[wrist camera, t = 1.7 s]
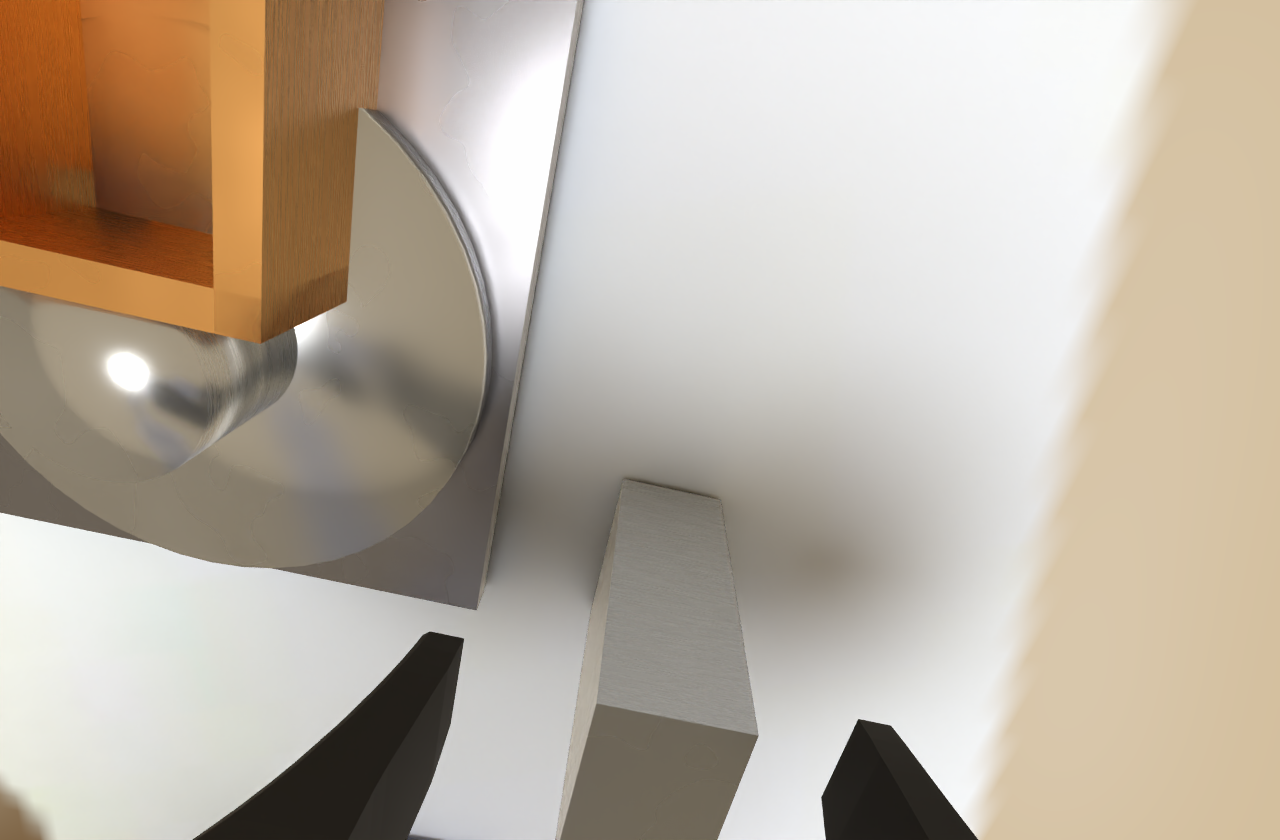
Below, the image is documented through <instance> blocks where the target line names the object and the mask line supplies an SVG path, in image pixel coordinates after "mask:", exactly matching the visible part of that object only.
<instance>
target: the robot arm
mask: <svg viewBox="0 0 1280 840" xmlns="http://www.w3.org/2000/svg"><path fill="white" fill-rule="evenodd" d="M463 642H464V638H459V637H454V636H449V635H444V634H439V633H435V632H428V633H426V634H424V635H423V636H422V637H421V638H420V639H419V640H418V642H417V643H416V644H415V645H414V647H413V648H412V649H411V650H410V651H409V652H408V654H407V655H406V656H405V657H404V658H403V659H402V660H401V661H400V663H399V664H398V665H397V666H396V667H395V668H394V669H393V670H392V671H391V672H390V673H389V674H388V675H387V677H386V678H385V679H384V680H383V681H382V682H381V683H380V684H379V685H378V686H377V687H376V688H375V689H374V690H373V691H372V692H371V693H370V694H369V695H368V696H367V697H366V698H365V699H364V700H363V701H362V702H361V703H360V704H359V705H358V706H357V707H356V708H355V709H354V710H353V711H352V712H351V713H350V714H349V715H347V716H346V717H345V718H344V719H343V720H342V721H341V722H340V723H339V724H338V725H337V726H336V727H335V728H333V729H332V730H331V731H330V732H329V733H328V734H327V735H326V736H324V737H323V738H322V739H321V740H320V741H319V742H318V743H317V744H315V745H314V746H313V747H312V748H311V749H310V750H309V751H307V752H306V753H305V754H304V755H303V756H302V757H301V758H300V759H298V760H297V761H296V762H295V763H294V764H292V765H291V766H290V767H289V768H288V769H286V770H285V771H284V772H283V773H281V774H280V775H279V776H278V777H277V778H275V779H274V780H273V781H272V782H270V783H269V784H268V785H267V786H265V787H264V788H263V789H261V790H260V791H259V792H257V793H256V794H255V795H254V796H252V797H251V798H250V799H248V800H247V801H246V802H244V803H243V804H242V805H241V806H239V807H238V808H236V809H235V810H234V811H232V812H231V813H230V814H228V815H227V816H225V817H224V818H223V819H221V820H220V821H218V822H217V823H216V824H214V825H213V826H211V827H210V828H208V829H207V830H206V831H204V832H203V833H201V834H200V835H199V836H197V837H196V838H194V839H193V840H406V839H407V837H408V835H409V833H410V830H411V828H412V826H413V823H414V821H415V819H416V817H417V814H418V812H419V810H420V808H421V805H422V803H423V801H424V798H425V796H426V794H427V791H428V789H429V787H430V785H431V782H432V779H433V776H434V773H435V770H436V767H437V764H438V761H439V758H440V755H441V752H442V749H443V746H444V743H445V740H446V736H447V733H448V730H449V727H450V724H451V718H452V711H453V705H454V699H455V693H456V686H457V680H458V674H459V667H460V661H461V655H462V649H463ZM821 798H822V807H823V817H824V827H825V836H826V840H978V839H977V837H976V836H975V835H974V834H973V832H972V831H971V830H970V829H969V827H968V826H967V825H966V823H965V822H964V821H963V820H962V818H961V817H960V816H959V814H958V813H957V812H956V810H955V809H954V808H953V807H952V805H951V804H950V803H949V801H948V800H947V799H946V797H945V796H944V795H943V793H942V792H941V791H940V789H939V788H938V787H937V785H936V784H935V783H934V781H933V780H932V779H931V777H930V776H929V775H928V773H927V772H926V771H925V769H924V768H923V767H922V765H921V764H920V763H919V762H918V760H917V759H916V758H915V756H914V755H913V754H912V752H911V751H910V750H909V748H908V747H907V746H906V744H905V743H904V742H903V740H902V739H901V738H900V737H899V735H898V734H897V733H896V732H895V730H894V729H893V728H892V727H891V726H890V725H885V724H880V723H875V722H870V721H865V720H860V719H858V721H857V723H856V725H855V727H854V730H853V732H852V734H851V736H850V738H849V740H848V742H847V744H846V747H845V749H844V751H843V753H842V755H841V757H840V759H839V761H838V763H837V766H836V768H835V770H834V772H833V774H832V776H831V778H830V780H829V782H828V785H827V787H826V789H825V791H824V793H823V795H822V797H821Z"/></svg>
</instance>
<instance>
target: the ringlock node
mask: <svg viewBox="0 0 1280 840" xmlns="http://www.w3.org/2000/svg"><path fill="white" fill-rule="evenodd" d="M583 3H584V0H0V513H5V514H10V515H15V516H20V517H25V518H30V519H34V520H39V521H44V522H49V523H54V524H59V525H64V526H69V527H73V528H78V529H83V530H88V531H93V532H98V533H103V534H108V535H112V536H117V537H122V538H127V539H132V540H137V541H142V542H146V543H151V544H154V545H157V546H159V547H162V548H165V549H168V550H170V551H173V552H176V553H179V554H182V555H186V556H190V557H194V558H198V559H202V560H205V561H209V562H215V563H221V564H228V565H234V566H241V567H260V568H273V569H278V570H283V571H288V572H293V573H297V574H302V575H307V576H312V577H317V578H322V579H327V580H331V581H336V582H341V583H346V584H351V585H356V586H361V587H366V588H370V589H375V590H380V591H385V592H390V593H395V594H400V595H405V596H409V597H414V598H419V599H424V600H429V601H434V602H439V603H443V604H448V605H453V606H458V607H463V608H468V609H473V610H477V608H478V605H479V603H480V600H481V598H482V595H483V593H484V590H485V584H486V578H487V572H488V566H489V560H490V554H491V548H492V542H493V536H494V531H495V525H496V519H497V513H498V507H499V501H500V495H501V489H502V483H503V477H504V471H505V465H506V459H507V454H508V448H509V442H510V436H511V430H512V424H513V418H514V412H515V406H516V400H517V394H518V388H519V382H520V376H521V371H522V365H523V359H524V353H525V347H526V341H527V335H528V329H529V323H530V317H531V311H532V305H533V299H534V294H535V288H536V282H537V276H538V270H539V264H540V258H541V252H542V246H543V240H544V234H545V228H546V222H547V217H548V211H549V205H550V199H551V193H552V187H553V181H554V175H555V169H556V163H557V157H558V151H559V145H560V139H561V134H562V128H563V122H564V116H565V110H566V104H567V98H568V92H569V86H570V80H571V74H572V68H573V62H574V57H575V51H576V45H577V39H578V33H579V27H580V21H581V15H582V9H583Z"/></svg>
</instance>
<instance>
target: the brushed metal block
mask: <svg viewBox="0 0 1280 840" xmlns="http://www.w3.org/2000/svg"><path fill="white" fill-rule="evenodd" d="M757 738H758V729H757V723H756V717H755V711H754V705H753V698H752V692H751V686H750V680H749V673H748V667H747V661H746V655H745V649H744V642H743V636H742V630H741V624H740V618H739V611H738V605H737V599H736V593H735V586H734V580H733V574H732V568H731V562H730V555H729V549H728V543H727V537H726V530H725V524H724V518H723V512H722V506H721V500H719V499H715V498H710V497H706V496H701V495H696V494H692V493H687V492H683V491H678V490H673V489H669V488H664V487H660V486H655V485H650V484H646V483H641V482H637V481H632V480H628V479H623V482H622V486H621V490H620V494H619V498H618V502H617V506H616V510H615V514H614V518H613V522H612V527H611V531H610V535H609V539H608V543H607V547H606V551H605V555H604V559H603V563H602V567H601V571H600V575H599V579H598V584H597V588H596V592H595V596H594V600H593V604H592V608H591V612H590V619H589V625H588V632H587V638H586V645H585V651H584V657H583V664H582V670H581V677H580V683H579V690H578V696H577V702H576V709H575V715H574V722H573V728H572V735H571V741H570V747H569V754H568V760H567V767H566V773H565V780H564V786H563V793H562V799H561V805H560V812H559V818H558V825H557V831H556V838H555V840H717V839H718V836H719V834H720V831H721V829H722V826H723V824H724V821H725V819H726V816H727V814H728V811H729V809H730V806H731V804H732V801H733V798H734V796H735V793H736V791H737V788H738V786H739V783H740V781H741V778H742V776H743V773H744V771H745V768H746V766H747V763H748V761H749V758H750V756H751V753H752V751H753V748H754V746H755V743H756V741H757Z"/></svg>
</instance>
